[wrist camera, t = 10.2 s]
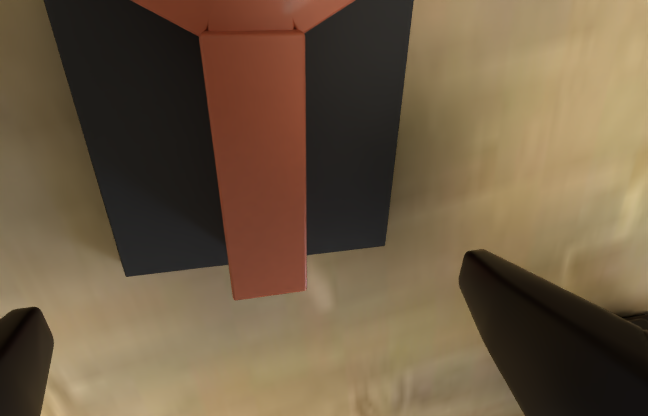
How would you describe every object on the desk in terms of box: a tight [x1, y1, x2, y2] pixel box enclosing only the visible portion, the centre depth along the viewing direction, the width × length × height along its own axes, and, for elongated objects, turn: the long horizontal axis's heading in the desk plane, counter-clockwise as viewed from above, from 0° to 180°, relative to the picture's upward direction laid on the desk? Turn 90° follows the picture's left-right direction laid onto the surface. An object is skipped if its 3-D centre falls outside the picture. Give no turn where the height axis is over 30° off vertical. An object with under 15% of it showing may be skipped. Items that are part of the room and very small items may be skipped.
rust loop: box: [131, 0, 355, 300], centre depth 11 cm, size 16×8×3 cm, turn 0°
